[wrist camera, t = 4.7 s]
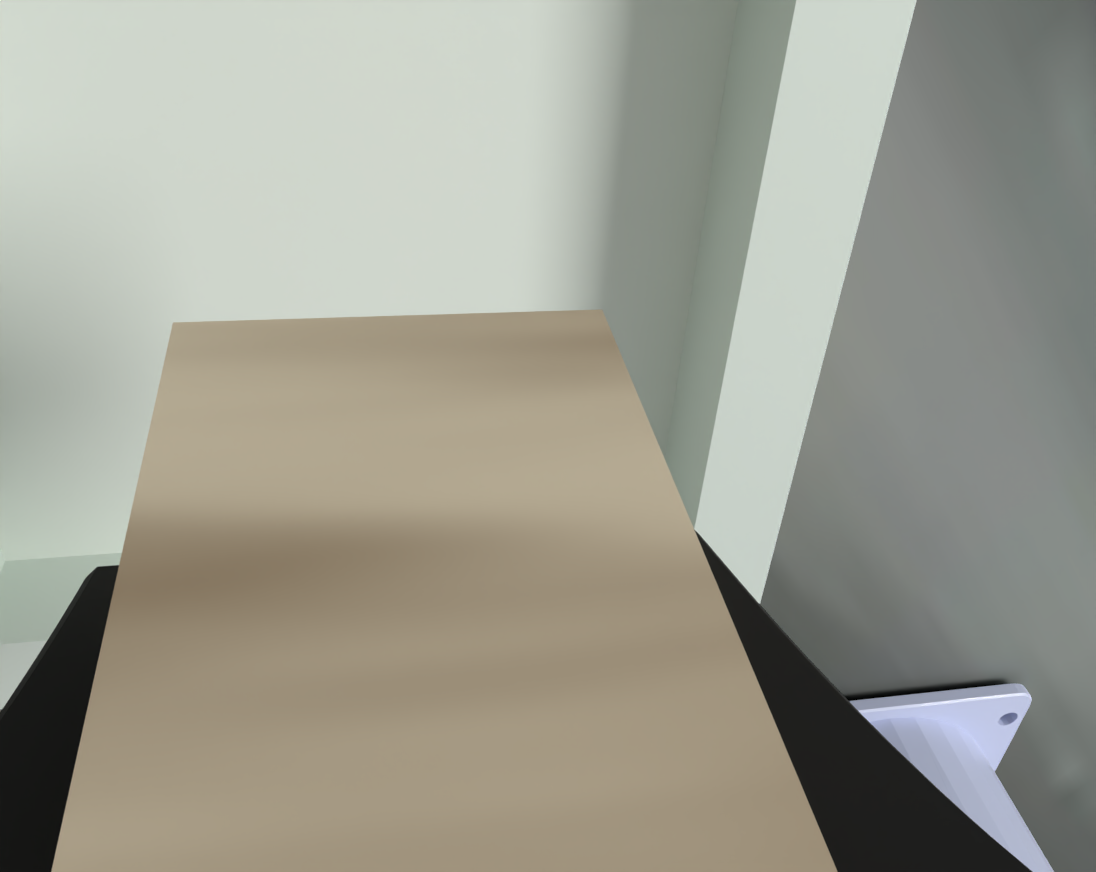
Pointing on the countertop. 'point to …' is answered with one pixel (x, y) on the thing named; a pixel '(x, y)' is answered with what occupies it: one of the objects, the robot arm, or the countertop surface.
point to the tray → (422, 220)
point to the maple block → (420, 621)
